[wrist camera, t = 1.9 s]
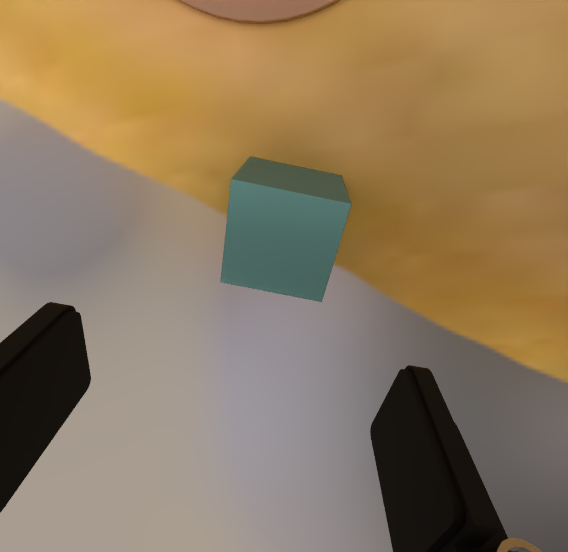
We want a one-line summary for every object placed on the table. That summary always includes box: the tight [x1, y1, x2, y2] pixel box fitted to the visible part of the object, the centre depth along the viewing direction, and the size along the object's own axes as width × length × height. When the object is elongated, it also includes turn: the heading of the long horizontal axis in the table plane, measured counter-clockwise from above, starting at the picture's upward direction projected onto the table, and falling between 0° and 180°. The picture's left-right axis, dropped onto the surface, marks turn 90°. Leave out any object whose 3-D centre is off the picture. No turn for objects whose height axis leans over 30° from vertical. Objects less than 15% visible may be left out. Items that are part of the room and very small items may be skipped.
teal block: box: [221, 157, 351, 302], centre depth 20 cm, size 6×6×6 cm
